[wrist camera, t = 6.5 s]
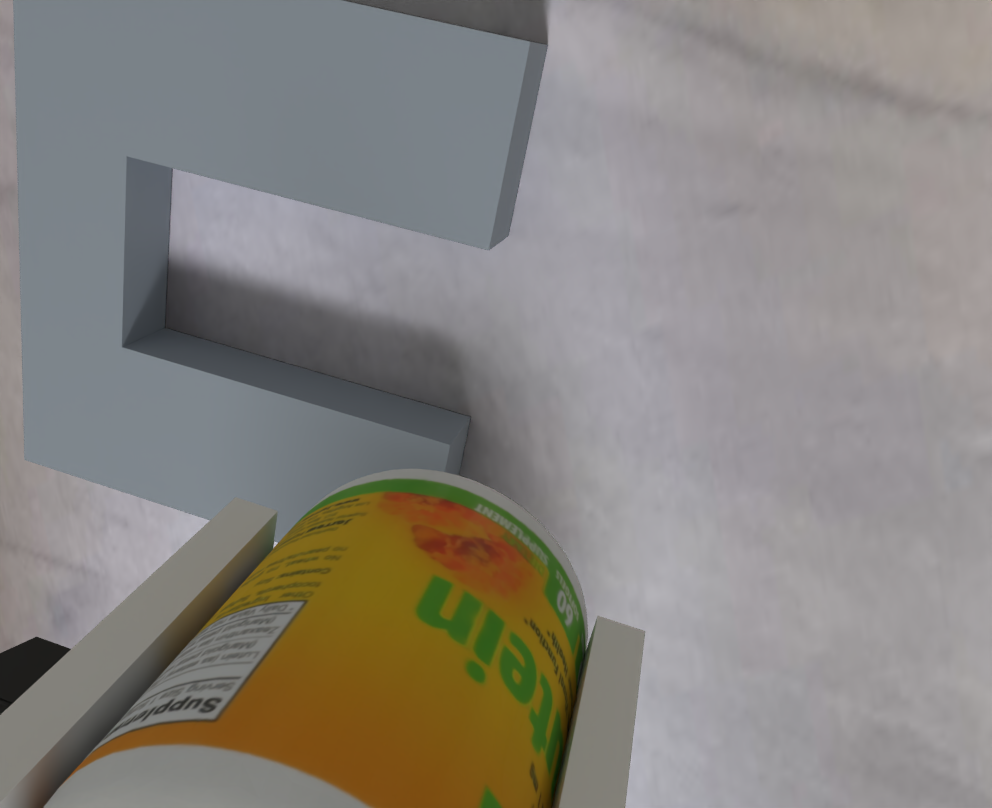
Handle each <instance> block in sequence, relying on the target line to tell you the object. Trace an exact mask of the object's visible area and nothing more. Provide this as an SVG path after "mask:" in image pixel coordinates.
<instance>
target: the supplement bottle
mask: <svg viewBox="0 0 992 808" xmlns="http://www.w3.org/2000/svg"><path fill="white" fill-rule="evenodd" d="M587 638H588V624H587V613H586V607H585V601H584V596H583V593H582V589H581V586H580V584H579V581H578V578H577V576H576V574H575V572H574V570H573V567H572V565H571V563H570V561H569V560H568V558H567V556H566V555H565V553H564V552H563V550H562V549H561V547H560V546H559V544H558V543H557V542H556V540H555V539H554V538H553V537H552V536H551V535H550V533H549V532H548V531H547V530H546V529H545V528H544V527H543V526H542V525H541V523H540V522H539V521H538V520H536V519H535V518H534V517H533V516H532V515H531V514H530V513H529V512H527V511H526V510H525V509H523V508H522V507H521V506H519V505H518V504H517V503H515V502H514V501H512V500H511V499H509V498H508V497H506V496H505V495H503V494H501V493H499V492H497V491H496V490H494V489H492V488H490V487H488V486H485V485H483V484H481V483H479V482H476V481H474V480H471V479H468V478H465V477H462V476H459V475H455V474H450V473H446V472H441V471H435V470H426V469H398V470H389V471H384V472H379V473H375V474H371V475H368V476H365V477H362V478H359V479H356V480H353V481H351V482H349V483H347V484H345V485H342V486H341V487H339V488H337V489H336V490H334V491H332V492H331V493H329V494H328V495H326V496H325V497H324V498H323V499H321V500H320V501H319V502H318V503H317V504H315V505H314V506H313V507H312V508H311V509H310V510H309V511H308V512H307V513H306V514H305V515H304V516H303V517H302V518H301V519H300V520H299V521H298V522H297V523H296V524H295V525H294V526H293V527H292V528H291V529H290V531H289V532H288V533H287V534H286V535H285V536H284V537H283V538H282V539H281V541H280V542H279V543H278V544H277V545H276V546H275V547H274V548H273V550H272V551H271V552H270V553H269V554H268V555H267V556H266V557H265V559H264V560H263V561H262V562H261V563H260V564H259V565H258V566H257V567H256V569H255V570H254V571H253V572H252V573H251V574H250V575H249V576H248V578H247V579H246V580H245V581H244V582H243V583H242V584H241V585H240V586H239V588H238V589H237V590H236V591H235V592H234V593H233V594H232V595H231V596H230V597H229V599H228V600H227V601H226V602H225V603H224V604H223V605H222V607H221V608H220V609H219V610H218V611H217V612H216V613H215V614H214V615H213V617H212V618H211V619H210V620H209V621H208V622H207V623H206V624H205V625H204V626H203V627H202V629H201V630H200V631H199V632H198V633H197V634H196V635H195V637H194V638H193V639H192V640H191V641H190V642H189V643H188V645H187V646H186V647H185V648H184V649H183V650H182V651H181V652H180V654H179V655H178V656H177V657H176V658H175V659H174V660H173V661H172V662H171V664H170V665H169V666H168V667H167V668H166V669H165V670H164V671H163V673H162V674H161V675H160V676H159V677H158V678H157V679H156V680H155V681H154V683H153V684H152V685H151V686H150V687H149V688H148V689H147V690H146V691H145V693H144V694H143V695H142V696H141V697H140V698H139V699H138V700H137V701H136V703H135V704H134V705H133V706H132V707H131V708H130V709H129V711H128V712H127V713H126V714H125V715H124V716H123V717H122V718H121V720H120V721H119V722H118V723H117V724H116V725H115V726H114V728H113V729H112V730H111V731H110V732H109V733H108V734H107V735H106V736H105V737H104V738H103V739H102V740H101V742H100V743H99V744H98V745H97V746H96V747H95V748H94V749H93V750H92V751H91V752H90V753H89V754H88V755H87V757H86V758H85V759H84V760H83V762H82V763H81V764H80V765H79V766H78V767H77V768H76V769H75V770H74V771H73V772H72V773H71V775H70V776H69V777H68V778H67V779H66V780H65V781H64V782H63V784H62V785H61V786H60V787H59V788H58V789H57V791H56V792H55V793H54V795H53V796H52V797H51V798H50V800H49V801H48V802H47V803H46V805H45V806H44V807H43V808H552V805H553V800H554V796H555V791H556V786H557V782H558V777H559V772H560V768H561V764H562V759H563V754H564V749H565V745H566V740H567V736H568V731H569V726H570V722H571V717H572V712H573V708H574V703H575V699H576V694H577V689H578V685H579V681H580V675H581V671H582V667H583V662H584V657H585V653H586V650H587Z"/></svg>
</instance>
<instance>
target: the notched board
mask: <svg viewBox="0 0 992 808" xmlns="http://www.w3.org/2000/svg"><path fill="white" fill-rule="evenodd" d="M13 10H14V50H15V91H16V132H17V173H18V213H19V254H20V295H21V335H22V376H23V417H24V458H25V460H27V461H30V462H33V463H36V464H39V465H42V466H45V467H48V468H51V469H54V470H57V471H60V472H64V473H67V474H70V475H73V476H76V477H79V478H82V479H85V480H88V481H91V482H94V483H97V484H100V485H103V486H106V487H109V488H113V489H116V490H119V491H122V492H125V493H128V494H131V495H134V496H137V497H140V498H143V499H146V500H149V501H152V502H155V503H159V504H162V505H165V506H168V507H171V508H174V509H177V510H180V511H183V512H186V513H189V514H192V515H195V516H198V517H201V518H204V519H208V520H211V519H212V518H214V517H215V516H216V515H217V514H218V513H219V512H220V511H221V510H222V509H223V508H224V507H225V506H227V505H228V504H229V503H230V502H231V501H232V500H233V499H234V498H235V497H236V498H239V499H243V500H246V501H249V502H252V503H255V504H258V505H261V506H264V507H267V508H270V509H273V510H276V511H278V514H277V522H276V529H275V537H274V541H275V542H278V543H279V542H280V541H281V539H282V538H283V537H284V536H285V535H286V534H287V533H288V532H289V531H290V529H291V528H292V527H293V526H294V525H295V524H296V523H297V522H298V521H299V520H300V519H301V518H302V517H303V516H304V515H305V514H306V513H307V512H308V511H309V510H310V509H311V508H312V507H313V506H314V505H315V504H317V503H318V502H319V501H320V500H321V499H323V498H324V497H325V496H326V495H328V494H329V493H331V492H332V491H334V490H336V489H337V488H339V487H341V486H342V485H345V484H347V483H349V482H351V481H353V480H356V479H359V478H362V477H365V476H368V475H371V474H375V473H379V472H384V471H389V470H398V469H426V470H435V471H441V472H446V473H450V474H455V475H459V472H460V467H461V462H462V457H463V453H464V448H465V443H466V438H467V433H468V428H469V424H470V419H471V417H469V416H465V415H462V414H458V413H455V412H452V411H448V410H445V409H441V408H438V407H434V406H431V405H428V404H424V403H421V402H417V401H414V400H410V399H407V398H404V397H400V396H397V395H393V394H390V393H386V392H383V391H380V390H376V389H373V388H369V387H366V386H362V385H359V384H356V383H352V382H349V381H345V380H342V379H338V378H335V377H332V376H328V375H325V374H321V373H318V372H314V371H311V370H308V369H304V368H301V367H297V366H294V365H290V364H287V363H284V362H280V361H277V360H273V359H270V358H266V357H263V356H260V355H256V354H253V353H249V352H246V351H242V350H239V349H236V348H232V347H229V346H225V345H222V344H218V343H215V342H212V341H208V340H205V339H201V338H198V337H194V336H191V335H188V334H184V333H181V332H177V331H174V330H170V329H167V328H165V313H166V291H167V270H168V248H169V227H170V205H171V184H172V168H174V169H178V170H181V171H185V172H189V173H193V174H197V175H201V176H204V177H208V178H212V179H216V180H220V181H224V182H228V183H231V184H235V185H239V186H243V187H247V188H251V189H254V190H258V191H262V192H266V193H270V194H274V195H278V196H281V197H285V198H289V199H293V200H297V201H301V202H304V203H308V204H312V205H316V206H320V207H324V208H328V209H331V210H335V211H339V212H343V213H347V214H351V215H354V216H358V217H362V218H366V219H370V220H374V221H378V222H381V223H385V224H389V225H393V226H397V227H401V228H404V229H408V230H412V231H416V232H420V233H424V234H428V235H431V236H435V237H439V238H443V239H447V240H451V241H454V242H458V243H462V244H466V245H470V246H474V247H478V248H481V249H485V250H490V249H491V248H493V247H494V246H496V245H497V244H498V243H500V242H501V241H502V240H504V239H505V238H506V237H508V235H509V230H510V226H511V221H512V216H513V211H514V206H515V201H516V197H517V192H518V187H519V182H520V177H521V172H522V168H523V163H524V158H525V153H526V148H527V143H528V139H529V134H530V129H531V124H532V119H533V114H534V110H535V105H536V100H537V95H538V90H539V85H540V81H541V76H542V71H543V66H544V61H545V57H546V52H547V47H548V45H545V44H541V43H536V42H532V41H527V40H523V39H518V38H514V37H509V36H505V35H500V34H495V33H491V32H486V31H482V30H477V29H473V28H468V27H464V26H459V25H455V24H450V23H445V22H441V21H436V20H432V19H427V18H423V17H418V16H414V15H409V14H405V13H400V12H395V11H391V10H386V9H382V8H377V7H373V6H368V5H364V4H359V3H355V2H350V1H345V0H13Z"/></svg>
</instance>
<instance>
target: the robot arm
mask: <svg viewBox="0 0 992 808" xmlns="http://www.w3.org/2000/svg"><path fill="white" fill-rule="evenodd" d="M277 514H278V511H276V510H273V509H270V508H267V507H264V506H261V505H258V504H255V503H252V502H249V501H246V500H243V499H239V498H236V497H235V498H234V499H233V500H232V501H231V502H230V503H229V504H228V505H227V506H225V507H224V508H223V509H222V510H221V511H220V512H219V513H218V514H217V515H216V516H215V517H214V518H212V519H211V520H210V521H209V522H208V523H207V524H206V525H205V526H204V527H203V528H202V529H201V530H200V531H198V532H197V533H196V534H195V535H194V536H193V537H192V538H191V539H190V540H189V541H188V542H187V543H185V544H184V545H183V546H182V547H181V548H180V549H179V550H178V551H177V552H176V553H175V554H174V555H173V556H171V557H170V558H169V559H168V560H167V561H166V562H165V563H164V564H163V565H162V566H161V567H160V568H158V569H157V570H156V571H155V572H154V573H153V574H152V575H151V576H150V577H149V578H148V579H147V580H146V581H144V582H143V583H142V584H141V585H140V586H139V587H138V588H137V589H136V590H135V591H134V592H133V593H131V594H130V595H129V596H128V597H127V598H126V599H125V600H124V601H123V602H122V603H121V604H120V605H119V606H117V607H116V608H115V609H114V610H113V611H112V612H111V613H110V614H109V615H108V616H107V617H106V618H104V619H103V620H102V621H101V622H100V623H99V624H98V625H97V626H96V627H95V628H94V629H93V630H92V631H90V632H89V633H88V634H87V635H86V636H85V637H84V638H83V639H82V640H81V641H80V642H79V643H77V644H76V645H75V646H74V647H73V648H72V649H69V648H66V647H64V646H61V645H58V644H55V643H52V642H50V641H47V640H44V639H41V638H39V637H35V638H33V639H31V640H29V641H26V642H24V643H22V644H20V645H18V646H15V647H13V648H11V649H9V650H6V651H4V652H2V653H0V808H43V807H44V806H45V805H46V803H47V802H48V801H49V800H50V798H51V797H52V796H53V795H54V793H55V792H56V791H57V789H58V788H59V787H60V786H61V785H62V784H63V782H64V781H65V780H66V779H67V778H68V777H69V776H70V775H71V773H72V772H73V771H74V770H75V769H76V768H77V767H78V766H79V765H80V764H81V763H82V762H83V760H84V759H85V758H86V757H87V755H88V754H89V753H90V752H91V751H92V750H93V749H94V748H95V747H96V746H97V745H98V744H99V743H100V742H101V740H102V739H103V738H104V737H105V736H106V735H107V734H108V733H109V732H110V731H111V730H112V729H113V728H114V726H115V725H116V724H117V723H118V722H119V721H120V720H121V718H122V717H123V716H124V715H125V714H126V713H127V712H128V711H129V709H130V708H131V707H132V706H133V705H134V704H135V703H136V701H137V700H138V699H139V698H140V697H141V696H142V695H143V694H144V693H145V691H146V690H147V689H148V688H149V687H150V686H151V685H152V684H153V683H154V681H155V680H156V679H157V678H158V677H159V676H160V675H161V674H162V673H163V671H164V670H165V669H166V668H167V667H168V666H169V665H170V664H171V662H172V661H173V660H174V659H175V658H176V657H177V656H178V655H179V654H180V652H181V651H182V650H183V649H184V648H185V647H186V646H187V645H188V643H189V642H190V641H191V640H192V639H193V638H194V637H195V635H196V634H197V633H198V632H199V631H200V630H201V629H202V627H203V626H204V625H205V624H206V623H207V622H208V621H209V620H210V619H211V618H212V617H213V615H214V614H215V613H216V612H217V611H218V610H219V609H220V608H221V607H222V605H223V604H224V603H225V602H226V601H227V600H228V599H229V597H230V596H231V595H232V594H233V593H234V592H235V591H236V590H237V589H238V588H239V586H240V585H241V584H242V583H243V582H244V581H245V580H246V579H247V578H248V576H249V575H250V574H251V573H252V572H253V571H254V570H255V569H256V567H257V566H258V565H259V564H260V563H261V562H262V561H263V560H264V559H265V557H266V556H267V555H268V554H269V553H270V552H271V551H272V550H273V545H274V537H275V529H276V522H277ZM644 637H645V631H643V630H640V629H637V628H634V627H631V626H628V625H625V624H621V623H618V622H615V621H612V620H609V619H606V618H603V617H600V616H598V617H597V620H596V623H595V626H594V629H593V632H592V635H591V638H590V641H589V644H588V647H587V650H586V653H585V657H584V662H583V667H582V671H581V675H580V681H579V685H578V689H577V694H576V699H575V703H574V708H573V712H572V717H571V722H570V726H569V731H568V736H567V740H566V745H565V749H564V754H563V759H562V764H561V768H560V772H559V777H558V782H557V786H556V791H555V796H554V800H553V805H552V808H625V803H626V795H627V786H628V777H629V768H630V759H631V751H632V742H633V733H634V724H635V716H636V707H637V698H638V689H639V681H640V672H641V663H642V654H643V646H644Z"/></svg>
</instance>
